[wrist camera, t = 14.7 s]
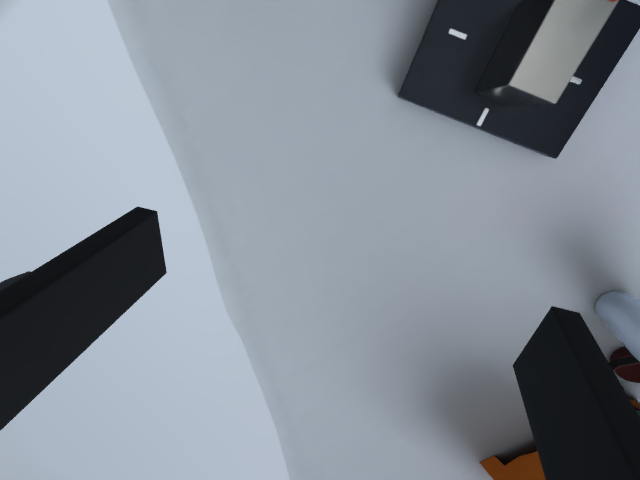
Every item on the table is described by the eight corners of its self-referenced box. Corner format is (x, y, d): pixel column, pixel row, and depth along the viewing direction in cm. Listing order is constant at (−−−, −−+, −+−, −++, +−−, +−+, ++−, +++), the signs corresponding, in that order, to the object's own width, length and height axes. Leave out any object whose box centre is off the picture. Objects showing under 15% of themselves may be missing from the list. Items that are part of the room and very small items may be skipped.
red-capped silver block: (508, 106, 27) (558, 104, 20) (473, 92, 27) (509, 84, 20) (559, 16, 25) (637, -26, 17) (520, 1, 25) (581, -48, 17)
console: (397, 97, 30) (398, 95, 28) (459, -50, 26) (465, -64, 24) (545, 156, 30) (557, 159, 28) (632, 17, 26) (653, 9, 24)
